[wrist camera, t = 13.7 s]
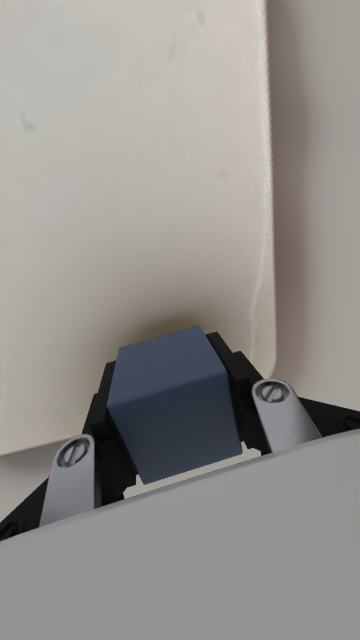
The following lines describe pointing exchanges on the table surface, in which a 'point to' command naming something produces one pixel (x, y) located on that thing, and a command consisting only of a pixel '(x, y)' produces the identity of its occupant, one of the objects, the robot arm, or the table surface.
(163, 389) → the block
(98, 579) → the robot arm
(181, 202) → the table surface
